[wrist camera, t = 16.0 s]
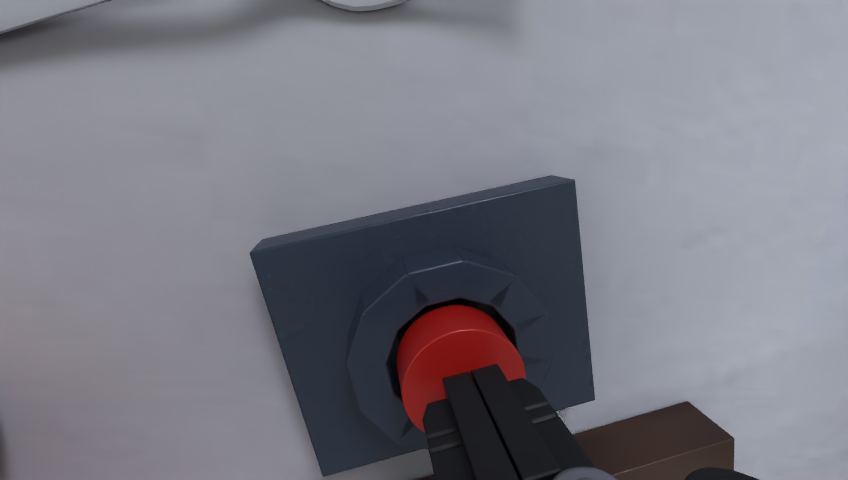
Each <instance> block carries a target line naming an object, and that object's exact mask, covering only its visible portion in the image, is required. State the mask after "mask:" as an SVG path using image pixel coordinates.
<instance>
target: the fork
mask: <svg viewBox="0 0 848 480" xmlns="http://www.w3.org/2000/svg"><path fill="white" fill-rule="evenodd" d="M107 1H111V0H0V34H3V33H6V32H9V31H12V30H15V29H19V28H22V27H25V26H28V25H31V24H35V23H38V22H41V21H44V20H47V19H51V18H54V17H57V16H61V15H64V14H67V13H71V12H74V11H77V10H81V9H84V8H87V7H91V6H94V5H97V4H101V3H104V2H107ZM322 1H324V2H326V3H328V4H330V5H332V6H334V7H338V8H342V9H346V10H350V11H371V10H378V9H382V8H386V7H390V6H394V5H397V4H400V3H403V2H406V1H409V0H322Z"/></svg>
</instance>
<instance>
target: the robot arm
mask: <svg viewBox="0 0 848 480" xmlns="http://www.w3.org/2000/svg"><path fill="white" fill-rule="evenodd" d="M442 384H443V388H444V393H445V398H446V399H442V400H439V401H435V402H431V403H428V404H427V406H426V409H425V413H424V416H423V419H422V421H423V425H424V430H425V434H426V439H427V444H428V448H429V453H430V457H431V462H432V466H433V471H434V476H435V480H617V479H616V478H615V477H613V476H612V475H610V474H608V473H607V472H604V471H602V470H600V469H597V468H596V467H595V466H594V465H593V464H592V462H591V461H590V459H589V458H588V456H587V455H586V454H585V452H584V451H583V449H582V448H581V447H580V445H579V444H578V442H577V441H576V440H575V438H574V437H573V435H572V434H571V433H570V431H569V430H568V428H567V427H566V426H565V424H564V423H563V421H562V420H561V419H560V417H558V415H557V413H556V411H555V410H554V409H553V407H552V406H551V405H549V402H548V400H547V399H546V397H545V396H544V395H543V393H542V392H541V390H540V389H539V388H538V387H537V386H535V385H534V384H532V383H530V382H529V381H527V380H525V379H524V378H519V379H515V380H511V381H508V380H507V378H506V377H505V375H504V373H503V372H502V370H501V369H500V367H499V365H498V364H493V365H489V366H485V367H481V368H478V369H474V370H470V373H469V371H467V372H463V373H459V374H456V375H452V376H448V377H444V378H442ZM685 480H759V479H756V478H753V477H751V476H748V475H745V474H742V473H739V472H736V471H733V470H730V469H725V468H717V467H706V468H701V469H698V470H695V471H693V472H691V473H690V474H689V475H688V476H687V477H686V478H685Z"/></svg>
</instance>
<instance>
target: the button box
mask: <svg viewBox="0 0 848 480" xmlns="http://www.w3.org/2000/svg"><path fill="white" fill-rule="evenodd" d="M250 256H251V259H252V262H253V265H254V268H255V271H256V274H257V278H258V281H259V284H260V287H261V290H262V293H263V296H264V299H265V302H266V305H267V308H268V311H269V314H270V317H271V320H272V323H273V326H274V329H275V332H276V335H277V338H278V341H279V345H280V348H281V351H282V354H283V357H284V360H285V363H286V366H287V369H288V372H289V375H290V378H291V381H292V384H293V387H294V390H295V393H296V396H297V399H298V402H299V405H300V409H301V412H302V415H303V418H304V421H305V424H306V427H307V430H308V433H309V436H310V439H311V442H312V445H313V448H314V451H315V454H316V457H317V460H318V463H319V466H320V469H321V472H322V475H323V476H328V475H331V474H335V473H338V472H342V471H345V470H349V469H352V468H356V467H359V466H363V465H366V464H370V463H374V462H377V461H381V460H384V459H388V458H391V457H395V456H398V455H402V454H405V453H409V452H412V451H416V450H419V449H423V448H425V449H429V448H428V444H427V439H426V434H425V433H424V432H423V431H421V430H420V429H419V428H417V427H416V426H415V424H414V423H413V422H412V421H411V420H410V418H409V417H408V415H407V413H406V411H405V408H404V405H403V401H402V395H401V388H400V382H399V376H398V370H397V351H398V347H399V344H400V341H401V339H402V337H403V335H404V334H405V332H406V331H407V329H408V328H409V327H410V325H411V324H412V323H413V322H414V321H415V320H417V319H418V318H419V317H420V316H422V315H423V314H425V313H427V312H429V311H431V310H433V309H435V308H438V307H442V306H447V305H467V306H472V307H474V308H477V309H480V310H482V311H484V312H485V313H487V314H488V315H489V316H491V317H492V318H493V319H494V320H495V322H496V323H497V324H498V325H499V327H500V328H501V329H502V331H503V332H504V333H505V335H506V336H507V337H508V339H509V340H510V341H511V343H512V344H513V345H514V347H515V348H516V350H517V351H518V353H519V354H520V356H521V358H522V361H523V363H524V368H525V376H526V380H527V381H529V382H530V383H532V384H534V385H535V386H537V387H538V388H539V389H540V390H541V392H542V393H543V395H544V396H545V397H546V399H547V400H548V402H549V405H551V406H552V407H553V409H554V410H555V411H557V410H561V409H564V408H568V407H571V406H575V405H578V404H582V403H585V402H589V401H593V400H595V396H594V385H593V374H592V363H591V352H590V341H589V330H588V319H587V308H586V297H585V286H584V275H583V264H582V253H581V243H580V232H579V221H578V210H577V199H576V188H575V180H573V179H568V178H563V177H557V176H552V175H551V176H547V177H542V178H538V179H533V180H529V181H524V182H520V183H515V184H511V185H506V186H502V187H497V188H493V189H488V190H484V191H479V192H475V193H470V194H466V195H461V196H457V197H452V198H447V199H443V200H438V201H434V202H429V203H425V204H420V205H416V206H411V207H407V208H402V209H398V210H393V211H389V212H384V213H380V214H375V215H371V216H366V217H362V218H357V219H353V220H348V221H344V222H339V223H335V224H330V225H326V226H321V227H317V228H312V229H307V230H303V231H298V232H294V233H289V234H285V235H280V236H276V237H271V238H267V239H263V240H261V241H260V242H259V243H258V244H257V245H256V246H255V248H254V249H253V250H252V251H251V252H250Z"/></svg>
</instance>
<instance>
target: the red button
mask: <svg viewBox="0 0 848 480" xmlns="http://www.w3.org/2000/svg"><path fill="white" fill-rule="evenodd" d="M493 364H498V365H499V367H500V369H501V370H502V372H503V373H504V375H505V377H506V378H507V380H508V381H511V380H515V379H519V378H524V379H525V380H526V376H525V368H524V363H523V361H522V358H521V356H520V354H519V353H518V351H517V350H516V348H515V347H514V345H513V344H512V343H511V341H510V340H509V339H508V337H507V336H506V335H505V333H504V332H503V331H502V329H501V328H500V327H499V325H498V324H497V323H496V322H495V320H494V319H493V318H492V317H491V316H489V315H488V314H487V313H485V312H484V311H482V310H480V309H477V308H474V307H472V306H467V305H447V306H442V307H438V308H435V309H433V310H431V311H429V312H427V313H425V314H423V315H422V316H420V317H419V318H418V319H417V320H415V321H414V322H413V323H412V324H411V325H410V327H409V328H408V329H407V331H406V332H405V334H404V335H403V337H402V339H401V341H400V344H399V347H398V351H397V370H398V376H399V382H400V388H401V395H402V401H403V405H404V408H405V411H406V413H407V415H408V417H409V418H410V420H411V421H412V422H413V423H414V424H415V426H416V427H417V428H419V429H420V430H421V431H423V432H424V433H425V430H424V425H423V421H422V419H423V416H424V413H425V409H426V406H427V404H428V403H431V402H435V401H439V400H442V399H446V398H445V393H444V388H443V384H442V378H444V377H448V376H452V375H456V374H459V373H463V372H467V371H469V373H470V370H474V369H478V368H481V367H485V366H489V365H493Z"/></svg>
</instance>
